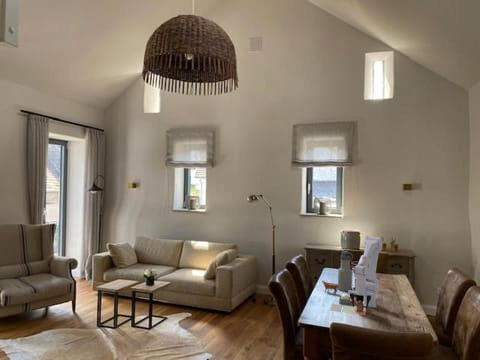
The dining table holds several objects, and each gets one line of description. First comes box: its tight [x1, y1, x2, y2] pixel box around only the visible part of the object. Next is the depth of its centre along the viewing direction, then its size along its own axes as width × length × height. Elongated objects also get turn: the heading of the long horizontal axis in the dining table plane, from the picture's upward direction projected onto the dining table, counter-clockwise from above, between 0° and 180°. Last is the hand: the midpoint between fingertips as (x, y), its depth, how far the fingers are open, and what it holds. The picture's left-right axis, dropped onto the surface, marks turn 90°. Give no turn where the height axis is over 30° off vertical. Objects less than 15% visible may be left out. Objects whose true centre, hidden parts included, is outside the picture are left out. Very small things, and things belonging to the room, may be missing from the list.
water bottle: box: [337, 250, 355, 292], centre depth 269 cm, size 10×10×28 cm
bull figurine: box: [321, 279, 339, 295], centre depth 261 cm, size 4×13×8 cm, turn 45°
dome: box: [341, 293, 350, 300], centre depth 238 cm, size 5×5×5 cm
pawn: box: [356, 300, 365, 312], centre depth 224 cm, size 4×4×6 cm
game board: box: [329, 303, 367, 316], centre depth 226 cm, size 15×21×1 cm
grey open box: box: [338, 295, 358, 307], centre depth 238 cm, size 7×11×4 cm, turn 70°
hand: (360, 307), depth 224 cm, fingers open, 7 cm apart
